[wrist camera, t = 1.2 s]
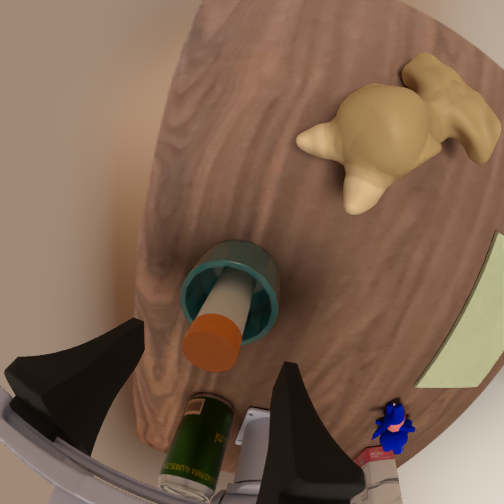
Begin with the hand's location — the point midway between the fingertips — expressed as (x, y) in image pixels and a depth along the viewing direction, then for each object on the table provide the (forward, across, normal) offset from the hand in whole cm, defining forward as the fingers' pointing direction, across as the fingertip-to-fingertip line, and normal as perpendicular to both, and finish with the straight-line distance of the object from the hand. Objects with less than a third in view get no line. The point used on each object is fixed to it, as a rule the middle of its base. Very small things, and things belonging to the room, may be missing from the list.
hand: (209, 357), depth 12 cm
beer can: (+9, 0, +17) cm, 19 cm away
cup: (+9, 0, 0) cm, 9 cm away
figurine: (+9, -21, +14) cm, 27 cm away
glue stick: (+8, 0, 0) cm, 9 cm away
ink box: (+9, -25, +26) cm, 37 cm away
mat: (+9, -27, -1) cm, 28 cm away
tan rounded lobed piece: (+9, -8, -14) cm, 18 cm away
